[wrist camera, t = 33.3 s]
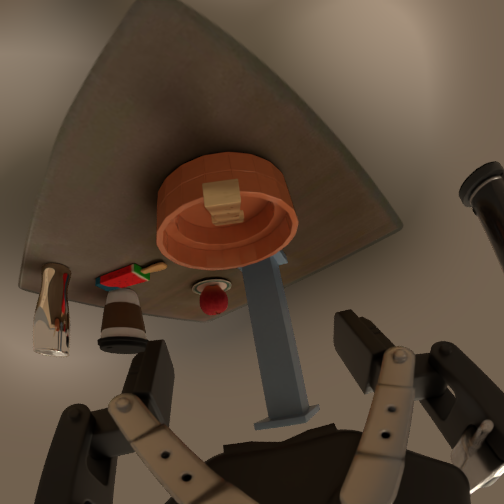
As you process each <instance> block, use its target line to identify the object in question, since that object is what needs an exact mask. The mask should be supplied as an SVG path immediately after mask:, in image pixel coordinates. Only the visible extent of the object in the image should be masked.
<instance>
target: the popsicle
mask: <svg viewBox="0 0 504 504" xmlns="http://www.w3.org/2000/svg"><path fill="white" fill-rule="evenodd" d="M165 268H167V265H166V264H165V263H163V262H160V263H157V264H153V265H151V266H149V267H147V268H144V269H143V268H141V267H140V266H138V265H137V264H132V265H129V266H127V267H124V268H121V269H119V270H116V271H114V272H111V273H108V274H106V275H103V276H101V277H98V278H96V283H95V286H97V287H99V288H101V289H104V290H106V291H113V290H116V289H120V288H123V287H127V286H131V285H134V284H138V283H141V282H145V281H148V280H150V272H155V271H159V270H163V269H165Z"/></svg>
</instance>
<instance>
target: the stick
mask: <svg viewBox="0 0 504 504" xmlns="http://www.w3.org/2000/svg"><path fill="white" fill-rule="evenodd" d="M202 189H203V197H204V206H205V208H206V209H207V210H208V211H209V212H210V214H211V219H212V223H213V224H214V225H215V226H219V225H227V224H234V223H241V222H243V220H244V213H243V210H240V206H241V197H240V189H239V182H238V179H230V180H222V181H215V182H208V183H202Z"/></svg>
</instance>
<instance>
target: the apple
mask: <svg viewBox="0 0 504 504" xmlns="http://www.w3.org/2000/svg"><path fill="white" fill-rule="evenodd" d="M230 288H231V283H230V282H229V281H226V280H222V279H211V280H205V281H202V282H199V283H197V284H195V285H194V286H193V291H194V292H195V293H197V294H201V295H200V307H201V309H202V310H203V312H204V313H206V314H208V315H216V314H220V313H221V312H223V311H225V310H226V308H227V305H228V298H227V295H226V293H225V291H227V290H228V289H230Z"/></svg>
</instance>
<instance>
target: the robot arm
mask: <svg viewBox="0 0 504 504" xmlns="http://www.w3.org/2000/svg"><path fill="white" fill-rule="evenodd" d="M468 201H469V203H470V205H471V206H472V208H473V212H474V213H475V215H476V216H477V217H478V219H479V221H480V223H481V225H482V227H483V229H484V231H485V233H486V235H487V237H488V239H489V241H490V243H491V245H492V248H493V250H494V252H495V255H496V257H497V259H498V262H499V264H500V266H501V269H502V271H503V274H504V173H501V174H494V175H491V176H489V177H487V178H485V179H484V180H482V181H481V182H480V183H479V184H478V185H477V186H476V187H475V188H474V189H473V190H472V192H471V193H470V195H469V198H468ZM334 346H335V349H336V351H337V353H338V355H339V356H340V357H341V359H342V361H343V362H344V364H345V365H346V367H347V368H348V370H349V371H350V373H351V374H352V376H353V377H354V379H355V380H356V382H357V383H358V385H359V386H360V388H361V389H362V391H363V393H364V394H368V393H371V392H374V397H373V401H372V404H371V408H370V411H369V414H368V418H367V421H366V424H365V427H364V431H363V432H360V431H355V430H337V428H336V426H335V424H334V423H332V424H329V425H325V426H322V427H318V428H314V429H310V430H307V431H305V432H303V433H301V434H299V435H296V436H295V437H292V438H290V439H287V440H285V441H282V442H253V441H251V442H244V443H237V444H229V445H223V448H224V453H221V454H218V455H216V456H214V457H212V458H210V459H208V460H207V461H205V462H203V461H202V460H201V459H200V458H199V457H198V456H197V455H196V454H195V453H194V452H192V451H191V450H190V449H189V448H188V447H187V446H186V445H185V444H184V443H183V442H182V441H181V440H180V439H179V438H178V437H177V436H176V435H175V434H174V433H173V432H172V431H171V429H170V428H169V421H170V412H171V402H172V393H173V385H174V368H173V364H172V361H171V359H170V355H169V352H168V349H167V346H166V343H165V341H164V340H154V341H148V342H147V345H146V349H145V352H139V353H138V354H137V355H136V356H135V357H134V358H133V360H132V363H131V366H130V369H129V372H128V375H127V378H126V381H125V384H124V387H123V390H122V393H121V394H120V395H117V396H116V397H114V398H113V399H112V400H111V401H110V403H109V404H108V408H105V409H101V410H97V411H92V412H91V411H90V410H89V408H88V407H87V406H86V405H84V404H74V405H71V406H69V407H67V408H66V409H65V410H64V411H63V413H62V415H61V418H60V420H59V423H58V426H57V428H56V431H55V434H54V437H53V440H52V443H51V446H50V449H49V452H48V455H47V458H46V461H45V465H44V469H43V472H42V475H41V479H40V482H39V486H38V490H37V494H36V499H35V503H34V504H113V492H114V483H115V474H116V466H117V457H118V456H120V455H125V454H129V453H133V452H136V453H137V455H138V456H139V457H140V459H141V460H142V461H143V463H144V464H145V465H146V467H147V468H148V469H149V470H150V472H151V473H152V474H153V475H154V477H155V478H156V479H157V480H158V482H159V483H160V484H161V485H162V486H163V487H164V489H165V490H166V491H167V492H168V493H169V494H170V495H171V498H170V499H169V500H168V501H167V502H166V503H165V504H471V502H470V494H471V493H472V492H474V491H475V490H477V489H478V488H479V487H488V486H490V485H492V484H493V483H494V482H495V481H496V480H497V479H498V478H499V477H500V476H501V475H502V474H503V473H504V393H503V392H502V391H501V390H500V389H499V388H498V387H497V386H496V384H494V383H493V381H492V380H491V379H490V378H489V377H488V376H487V375H486V374H484V372H483V371H482V370H481V369H480V368H478V367H477V365H476V364H474V363H473V362H472V361H471V360H470V359H469V358H468V357H467V356H466V355H465V354H464V353H463V352H462V351H461V350H460V349H459V348H458V347H457V346H456V345H454V344H453V343H450V342H446V341H441V342H437V343H435V344H433V345H432V347H431V351H430V353H424V354H416V355H415V354H414V353H413V351H412V350H410V349H408V348H406V347H401V346H397V347H396V346H395V345H394V344H393V343H391V341H390V340H389V339H388V338H387V337H386V336H385V335H384V334H383V333H382V332H381V331H380V330H379V329H378V328H376V326H375V325H374V324H373V323H372V322H371V321H370V320H368V319H366V318H364V317H358V316H357V315H356V314H355V313H354V312H353V311H352V310H351V309H350V310H345V311H341V312H337V313H335V316H334ZM447 385H449V386H450V387H451V388H452V390H453V391H454V393H455V396H456V398H455V397H454V395H453V394H452V393H451V392H450V391H449V389H448V388H447ZM415 400H419V401H420V403H421V404H422V406H423V407H424V408H425V410H426V411H427V413H428V414H429V416H430V417H431V418H432V420H433V421H434V423H435V424H436V425H437V427H438V429H439V430H440V431H441V433H442V434H443V436H444V437H445V439H446V440H447V442H448V443H449V445H450V446H451V448H452V449H453V450H452V453H451V460H452V463H453V464H450V463H447V462H443V461H440V460H437V459H433V458H430V457H427V456H424V455H421V454H418V453H415V452H413V451H410V450H407V449H406V448H407V443H408V438H409V432H410V426H411V420H412V413H413V405H414V401H415Z"/></svg>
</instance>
